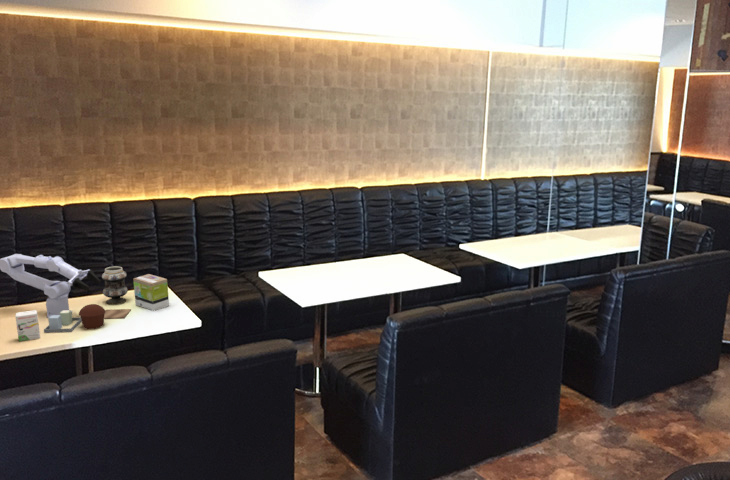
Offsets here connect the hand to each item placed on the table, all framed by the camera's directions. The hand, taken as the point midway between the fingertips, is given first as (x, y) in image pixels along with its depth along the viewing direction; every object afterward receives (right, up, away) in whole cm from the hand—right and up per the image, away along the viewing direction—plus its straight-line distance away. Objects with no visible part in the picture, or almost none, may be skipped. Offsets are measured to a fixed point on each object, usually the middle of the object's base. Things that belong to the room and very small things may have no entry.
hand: (94, 285), depth 303 cm
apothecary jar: (0, -10, +28) cm, 30 cm away
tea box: (+20, -12, +22) cm, 32 cm away
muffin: (+2, -18, -6) cm, 19 cm away
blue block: (-13, -19, -10) cm, 26 cm away
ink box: (-20, -22, -21) cm, 36 cm away
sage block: (-12, -18, -4) cm, 21 cm away
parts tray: (-11, -18, -7) cm, 23 cm away
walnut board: (+6, -15, +9) cm, 18 cm away
